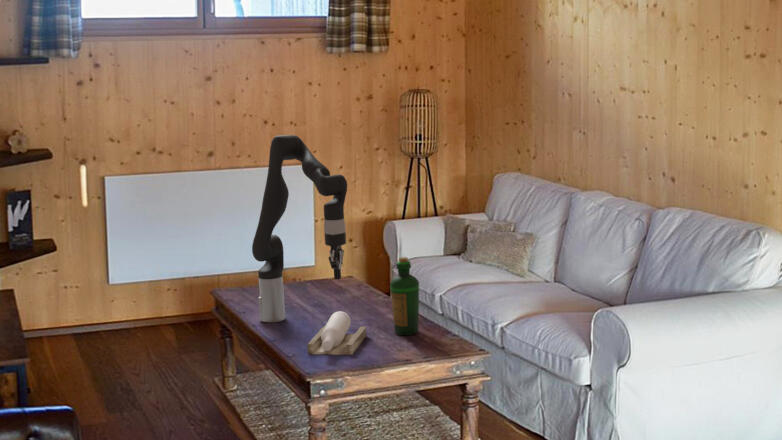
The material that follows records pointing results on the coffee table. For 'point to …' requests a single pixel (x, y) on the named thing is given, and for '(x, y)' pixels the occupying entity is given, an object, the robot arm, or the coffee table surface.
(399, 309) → the bottle
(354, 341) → the cradle
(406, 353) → the coffee table surface
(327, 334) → the bottle
